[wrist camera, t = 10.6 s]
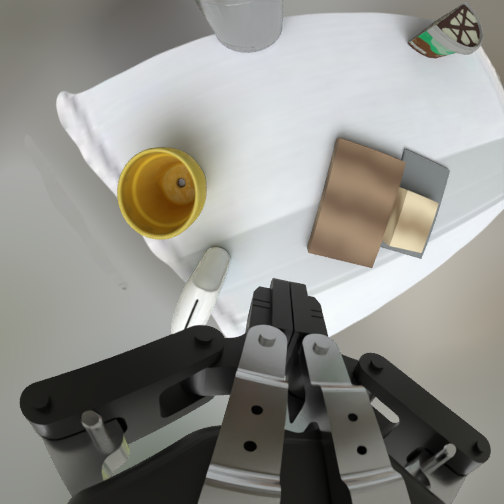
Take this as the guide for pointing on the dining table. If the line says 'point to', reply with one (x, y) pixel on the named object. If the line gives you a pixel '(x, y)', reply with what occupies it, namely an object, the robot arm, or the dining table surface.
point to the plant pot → (161, 192)
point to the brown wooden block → (355, 204)
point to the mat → (422, 186)
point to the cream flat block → (410, 221)
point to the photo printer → (201, 290)
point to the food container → (450, 34)
